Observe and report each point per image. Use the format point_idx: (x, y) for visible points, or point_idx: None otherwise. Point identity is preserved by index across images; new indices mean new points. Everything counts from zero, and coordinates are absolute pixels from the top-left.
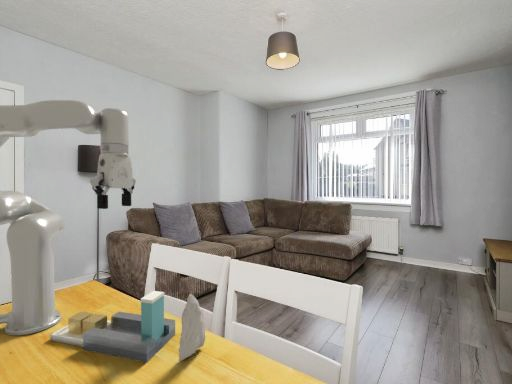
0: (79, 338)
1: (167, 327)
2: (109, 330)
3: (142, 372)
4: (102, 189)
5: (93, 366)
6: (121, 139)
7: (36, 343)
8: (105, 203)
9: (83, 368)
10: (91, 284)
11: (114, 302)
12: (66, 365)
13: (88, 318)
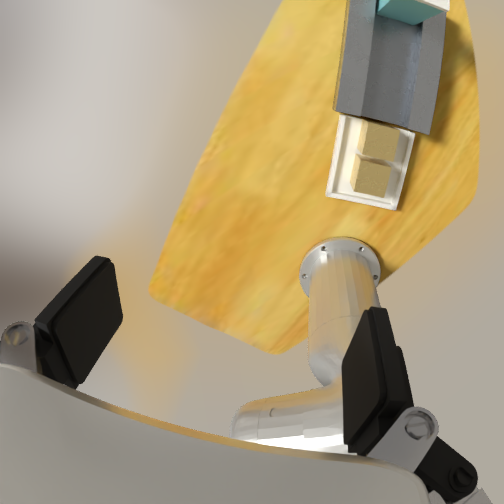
0: (407, 149)
1: None
2: (415, 89)
3: (455, 12)
4: (420, 466)
5: (454, 89)
6: None
7: (401, 222)
8: (389, 343)
9: (459, 102)
10: (160, 288)
11: (229, 183)
12: (454, 132)
13: (383, 155)
